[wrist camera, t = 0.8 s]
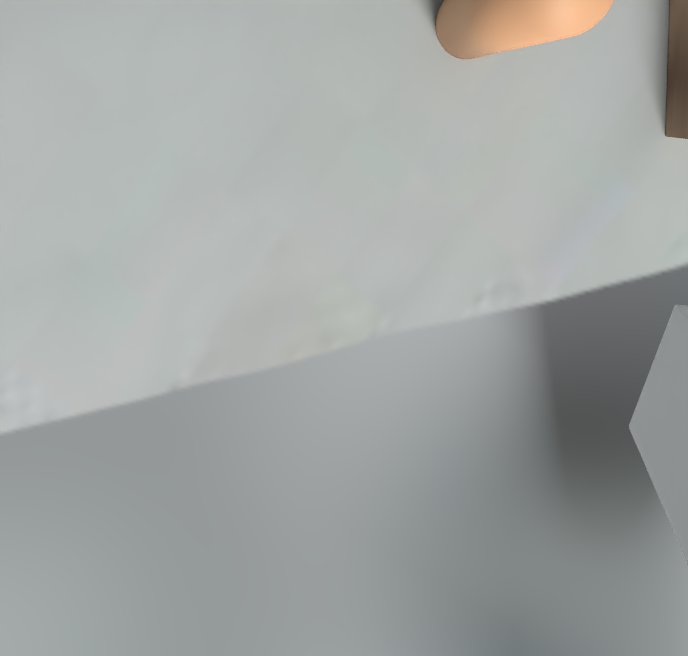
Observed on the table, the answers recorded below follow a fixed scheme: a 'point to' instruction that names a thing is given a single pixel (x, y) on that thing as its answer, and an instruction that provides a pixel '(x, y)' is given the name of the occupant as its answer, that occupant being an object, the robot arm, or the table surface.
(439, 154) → the table surface
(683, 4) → the hole block
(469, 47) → the peg
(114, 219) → the table surface
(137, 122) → the table surface
